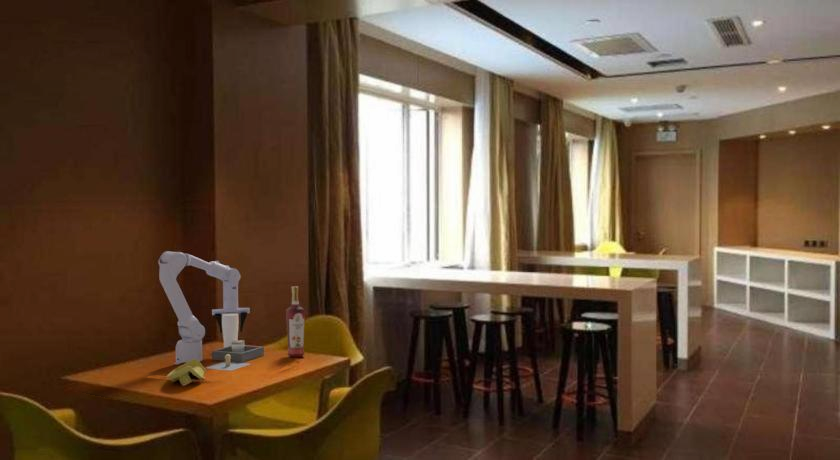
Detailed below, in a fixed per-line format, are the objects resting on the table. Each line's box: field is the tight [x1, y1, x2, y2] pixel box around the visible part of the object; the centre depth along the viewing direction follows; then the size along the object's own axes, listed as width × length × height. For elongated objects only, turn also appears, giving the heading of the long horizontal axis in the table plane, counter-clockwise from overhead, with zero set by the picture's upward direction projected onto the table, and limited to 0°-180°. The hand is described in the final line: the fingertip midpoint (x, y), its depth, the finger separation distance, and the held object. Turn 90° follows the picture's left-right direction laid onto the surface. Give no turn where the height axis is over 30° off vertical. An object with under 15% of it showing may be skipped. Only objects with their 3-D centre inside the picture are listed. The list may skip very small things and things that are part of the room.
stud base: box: [205, 354, 251, 372], centre depth 262 cm, size 12×12×6 cm
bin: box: [211, 344, 265, 363], centre depth 278 cm, size 14×14×4 cm
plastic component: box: [166, 359, 207, 387], centre depth 244 cm, size 20×7×10 cm
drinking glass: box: [221, 313, 240, 348], centre depth 298 cm, size 7×7×15 cm
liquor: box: [285, 286, 306, 359], centre depth 282 cm, size 7×7×28 cm
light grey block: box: [232, 339, 245, 353], centre depth 277 cm, size 5×5×7 cm
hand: (231, 331), depth 285 cm, fingers open, 7 cm apart
